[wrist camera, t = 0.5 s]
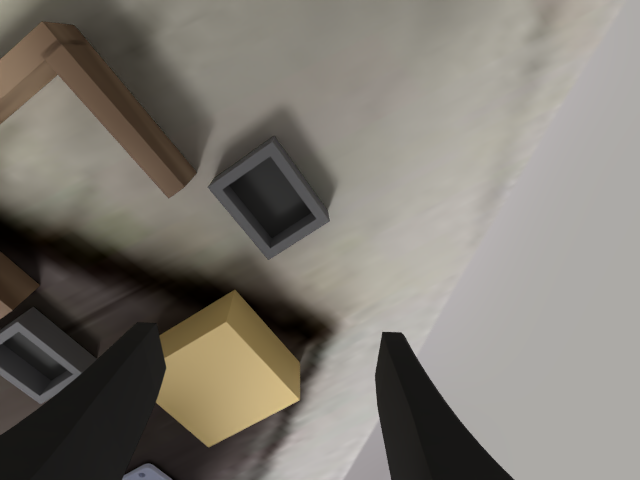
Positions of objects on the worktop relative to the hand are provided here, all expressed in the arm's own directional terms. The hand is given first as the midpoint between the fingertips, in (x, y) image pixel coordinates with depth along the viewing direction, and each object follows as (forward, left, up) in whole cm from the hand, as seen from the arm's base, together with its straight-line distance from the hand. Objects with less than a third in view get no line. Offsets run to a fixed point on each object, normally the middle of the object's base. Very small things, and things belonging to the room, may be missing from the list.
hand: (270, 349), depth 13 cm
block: (-9, -5, -11) cm, 15 cm away
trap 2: (0, +2, -11) cm, 11 cm away
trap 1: (-18, +2, -11) cm, 21 cm away
